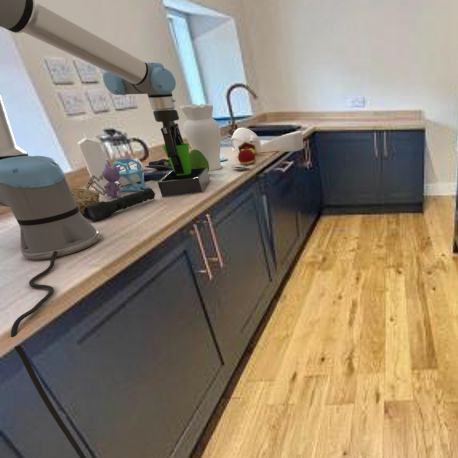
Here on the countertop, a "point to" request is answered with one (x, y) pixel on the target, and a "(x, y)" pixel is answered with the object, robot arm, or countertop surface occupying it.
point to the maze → (96, 184)
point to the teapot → (244, 138)
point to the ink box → (133, 177)
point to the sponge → (85, 198)
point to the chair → (130, 172)
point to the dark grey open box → (184, 182)
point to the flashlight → (117, 204)
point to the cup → (182, 157)
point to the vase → (203, 132)
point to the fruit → (198, 160)
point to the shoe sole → (283, 143)
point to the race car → (160, 164)
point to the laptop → (240, 167)
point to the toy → (223, 159)
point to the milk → (93, 160)
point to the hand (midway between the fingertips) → (182, 170)
